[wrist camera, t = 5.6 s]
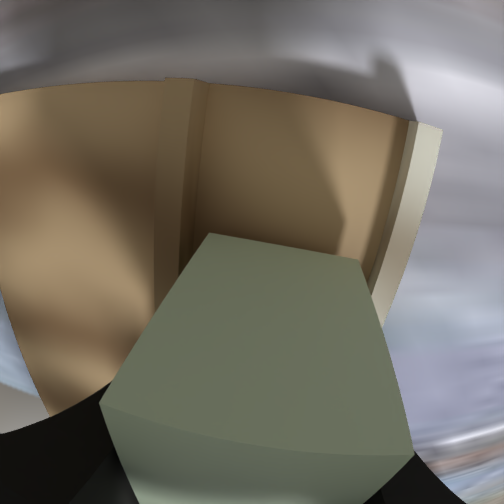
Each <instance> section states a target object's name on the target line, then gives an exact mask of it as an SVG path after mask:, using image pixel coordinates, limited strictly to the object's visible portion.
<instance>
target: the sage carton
mask: <svg viewBox="0 0 504 504" xmlns="http://www.w3.org/2000/svg"><path fill="white" fill-rule="evenodd" d="M99 404H100V407H101V410H102V413H103V416H104V419H105V422H106V425H107V428H108V431H109V433H110V436H111V439H112V441H113V444H114V447H115V449H116V452H117V454H118V457H119V459H120V462H121V464H122V466H123V469H124V471H125V473H126V476H127V478H128V480H129V482H130V485H131V487H132V489H133V491H134V493H135V495H136V497H137V499H138V502H139V504H363V503H364V502H365V501H367V500H368V499H369V498H370V497H371V496H372V495H373V494H375V493H376V492H377V491H378V490H379V489H380V488H381V487H382V486H383V485H385V484H386V483H387V482H388V481H389V480H390V479H391V478H392V477H393V476H394V475H395V474H396V473H397V472H398V471H399V470H400V469H401V468H402V467H403V466H404V465H405V464H406V463H407V462H408V461H409V460H410V459H411V458H412V457H413V456H414V455H415V454H414V449H413V445H412V440H411V435H410V431H409V426H408V422H407V418H406V414H405V410H404V406H403V402H402V398H401V394H400V390H399V386H398V382H397V379H396V375H395V371H394V368H393V364H392V361H391V357H390V354H389V351H388V347H387V344H386V341H385V337H384V334H383V331H382V328H381V325H380V321H379V318H378V315H377V312H376V309H375V306H374V303H373V300H372V297H371V294H370V291H369V288H368V286H367V283H366V280H365V277H364V274H363V272H362V269H361V266H360V263H359V261H358V259H352V258H347V257H342V256H336V255H331V254H326V253H320V252H315V251H309V250H304V249H298V248H293V247H287V246H282V245H276V244H271V243H265V242H260V241H254V240H249V239H243V238H237V237H232V236H226V235H220V234H215V233H209V234H208V235H207V236H206V238H205V239H204V241H203V242H202V244H201V245H200V247H199V248H198V249H197V251H196V252H195V254H194V255H193V257H192V258H191V260H190V261H189V263H188V264H187V266H186V267H185V268H184V270H183V271H182V273H181V274H180V276H179V277H178V279H177V280H176V282H175V283H174V285H173V286H172V288H171V289H170V291H169V292H168V294H167V295H166V297H165V298H164V300H163V302H162V303H161V305H160V306H159V308H158V309H157V311H156V312H155V314H154V315H153V317H152V318H151V320H150V321H149V323H148V325H147V326H146V328H145V329H144V331H143V332H142V334H141V336H140V337H139V339H138V340H137V342H136V343H135V345H134V347H133V348H132V350H131V351H130V353H129V355H128V356H127V358H126V359H125V361H124V363H123V364H122V366H121V367H120V369H119V371H118V372H117V374H116V376H115V377H114V379H113V380H112V382H111V384H110V385H109V387H108V389H107V390H106V392H105V394H104V395H103V397H102V399H101V400H100V402H99Z"/></svg>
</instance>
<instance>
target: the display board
mask: <svg viewBox="0 0 504 504" xmlns="http://www.w3.org/2000/svg"><path fill="white" fill-rule="evenodd" d="M442 133H443V130H441V129H438V128H436V127H433V126H430V125H427V124H424V123H421V122H416V121H409V120H405V119H402V118H399V117H395V116H392V115H388V114H385V113H381V112H377V111H374V110H370V109H366V108H362V107H358V106H354V105H349V104H345V103H340V102H336V101H331V100H326V99H321V98H316V97H311V96H306V95H300V94H294V93H288V92H282V91H275V90H268V89H261V88H253V87H244V86H235V85H224V84H212V83H207V82H204V81H200V80H197V79H189V78H165V81H114V82H94V83H80V84H68V85H59V86H50V87H42V88H35V89H28V90H22V91H15V92H10V93H4V94H0V289H1V292H2V296H3V300H4V303H5V306H6V310H7V313H8V316H9V319H10V322H11V325H12V328H13V331H14V334H15V337H16V340H17V343H18V345H19V348H20V351H21V353H22V356H23V358H24V361H25V363H26V366H27V368H28V371H29V373H30V375H31V378H32V380H33V382H34V384H35V387H36V389H37V391H38V393H39V395H40V397H41V399H42V401H43V403H44V405H45V407H46V409H47V412H48V413H49V415H50V417H51V416H53V415H55V414H58V413H60V412H62V411H63V410H65V409H67V408H69V407H71V406H73V405H75V404H77V403H79V402H80V401H82V400H84V399H85V398H87V397H89V396H90V395H92V394H93V393H95V392H97V391H98V390H100V389H101V388H103V387H104V386H105V385H107V384H108V383H109V382H111V381H112V380H113V379H114V377H115V376H116V374H117V372H118V371H119V369H120V367H121V366H122V364H123V363H124V361H125V359H126V358H127V356H128V355H129V353H130V351H131V350H132V348H133V347H134V345H135V343H136V342H137V340H138V339H139V337H140V336H141V334H142V332H143V331H144V329H145V328H146V326H147V325H148V323H149V321H150V320H151V318H152V317H153V315H154V314H155V312H156V311H157V309H158V308H159V306H160V305H161V303H162V302H163V300H164V298H165V297H166V295H167V294H168V292H169V291H170V289H171V288H172V286H173V285H174V283H175V282H176V280H177V279H178V277H179V276H180V274H181V273H182V271H183V270H184V268H185V267H186V266H187V264H188V263H189V261H190V260H191V258H192V257H193V255H194V254H195V252H196V251H197V249H198V248H199V247H200V245H201V244H202V242H203V241H204V239H205V238H206V236H207V235H208V234H209V233H215V234H220V235H226V236H232V237H237V238H243V239H249V240H254V241H260V242H265V243H271V244H276V245H282V246H287V247H293V248H298V249H304V250H309V251H315V252H320V253H326V254H331V255H336V256H342V257H347V258H352V259H358V261H359V263H360V266H361V269H362V272H363V274H364V277H365V280H366V283H367V286H368V288H369V291H370V294H371V297H372V300H373V303H374V306H375V309H376V312H377V315H378V318H379V321H380V325H381V328H382V326H383V324H384V321H385V319H386V317H387V314H388V312H389V309H390V307H391V304H392V302H393V299H394V297H395V294H396V292H397V289H398V287H399V284H400V281H401V278H402V276H403V273H404V270H405V267H406V265H407V262H408V259H409V256H410V253H411V250H412V247H413V244H414V241H415V238H416V235H417V231H418V228H419V225H420V222H421V218H422V215H423V211H424V208H425V204H426V201H427V197H428V193H429V190H430V186H431V182H432V178H433V174H434V170H435V166H436V161H437V157H438V152H439V148H440V143H441V138H442Z"/></svg>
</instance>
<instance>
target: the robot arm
mask: <svg viewBox="0 0 504 504" xmlns="http://www.w3.org/2000/svg"><path fill="white" fill-rule="evenodd" d="M111 382H112V381H111ZM111 382H109V383H108V384H107V385H105V386H104V387H103V388H101V389H100V390H98V391H97V392H95V393H93V394H92V395H90V396H89V397H87V398H85V399H84V400H82V401H80V402H79V403H77V404H75V405H73V406H71V407H69V408H67V409H65V410H63V411H62V412H60V413H58V414H55V415H53V416H51V417H49V418H47V419H44V420H42V421H39V422H37V423H34V424H31V425H29V426H26V427H23V428H21V429H18V430H14V431H11V432H7V433H3V434H0V504H139V502H138V499H137V497H136V495H135V493H134V491H133V489H132V487H131V485H130V482H129V480H128V478H127V476H126V473H125V471H124V469H123V466H122V464H121V462H120V459H119V457H118V454H117V452H116V449H115V447H114V444H113V441H112V439H111V436H110V433H109V431H108V428H107V425H106V422H105V419H104V416H103V413H102V410H101V407H100V404H99V402H100V400H101V399H102V397H103V395H104V394H105V392H106V390H107V389H108V387H109V385H110V384H111ZM414 454H415V455H414V456H413V457H412V458H411V459H410V460H409V461H408V462H407V463H406V464H405V465H404V466H403V467H402V468H401V469H400V470H399V471H398V472H397V473H396V474H395V475H394V476H393V477H392V478H391V479H390V480H389V481H388V482H387V483H386V484H385V485H383V486H382V487H381V488H380V489H379V490H378V491H377V492H376V493H375V494H373V495H372V496H371V497H370V498H369V499H368V500H367V501H365V502H364V503H363V504H466V503H465V502H464V501H462V500H461V499H460V498H459V497H458V496H456V495H455V494H454V493H453V492H452V491H451V490H450V489H449V488H448V487H447V486H446V485H445V484H444V483H443V482H442V481H441V480H440V479H439V478H438V477H437V476H436V475H435V474H434V473H433V472H432V471H431V470H430V469H429V468H428V467H427V466H426V464H425V463H424V462H423V461H422V460H421V458H420V457H419V456H418V455H417V453H416V452H415V451H414Z"/></svg>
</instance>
